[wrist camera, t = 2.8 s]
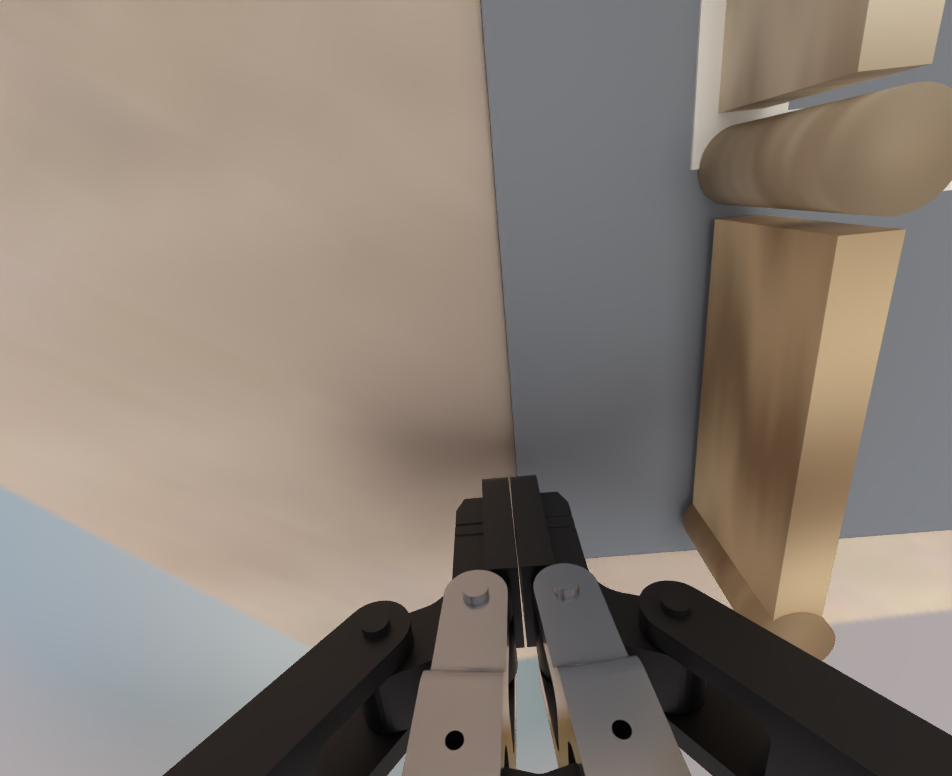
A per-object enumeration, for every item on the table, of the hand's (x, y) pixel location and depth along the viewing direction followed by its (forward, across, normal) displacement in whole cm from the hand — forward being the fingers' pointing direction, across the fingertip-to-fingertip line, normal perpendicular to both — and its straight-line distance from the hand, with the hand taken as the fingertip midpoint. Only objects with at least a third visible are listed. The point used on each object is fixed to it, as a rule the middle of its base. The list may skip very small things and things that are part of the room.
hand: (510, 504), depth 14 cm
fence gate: (+3, -7, -1) cm, 8 cm away
